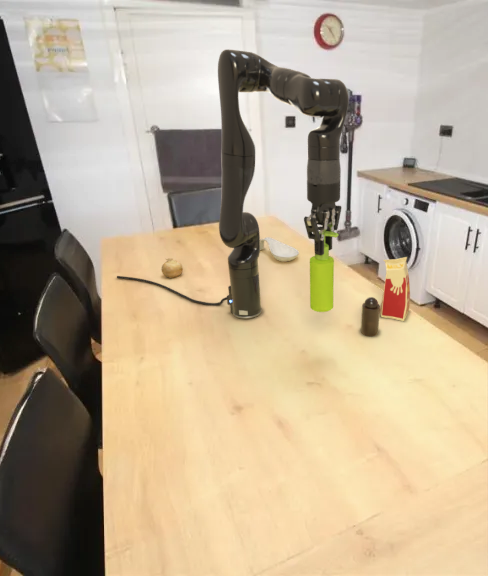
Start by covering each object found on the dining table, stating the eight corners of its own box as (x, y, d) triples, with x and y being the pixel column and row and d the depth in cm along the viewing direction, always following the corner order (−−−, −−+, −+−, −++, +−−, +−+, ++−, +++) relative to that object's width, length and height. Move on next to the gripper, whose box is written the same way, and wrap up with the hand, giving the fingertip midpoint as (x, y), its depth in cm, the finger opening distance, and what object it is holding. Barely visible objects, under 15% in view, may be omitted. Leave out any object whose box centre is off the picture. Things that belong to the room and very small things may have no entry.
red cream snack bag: (409, 308, 138) (415, 252, 129) (405, 321, 130) (411, 263, 121) (382, 304, 140) (386, 249, 132) (376, 316, 133) (380, 259, 124)
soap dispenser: (334, 313, 102) (336, 236, 93) (307, 310, 103) (306, 234, 94) (338, 302, 107) (340, 229, 98) (313, 300, 108) (312, 227, 100)
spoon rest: (304, 259, 179) (304, 243, 176) (284, 266, 171) (284, 250, 168) (268, 247, 193) (267, 232, 190) (248, 253, 185) (247, 238, 182)
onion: (186, 272, 166) (184, 255, 163) (178, 280, 159) (176, 263, 156) (167, 271, 167) (165, 255, 164) (159, 279, 159) (155, 262, 156)
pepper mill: (358, 333, 123) (359, 299, 118) (365, 325, 128) (367, 292, 123) (374, 338, 121) (376, 303, 116) (380, 330, 125) (383, 296, 120)
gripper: (324, 172, 98) (324, 241, 106) (291, 183, 87) (294, 258, 95) (352, 175, 95) (350, 246, 102) (322, 186, 84) (322, 264, 91)
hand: (323, 251), depth 98 cm, fingers closed on soap dispenser, 3 cm apart
